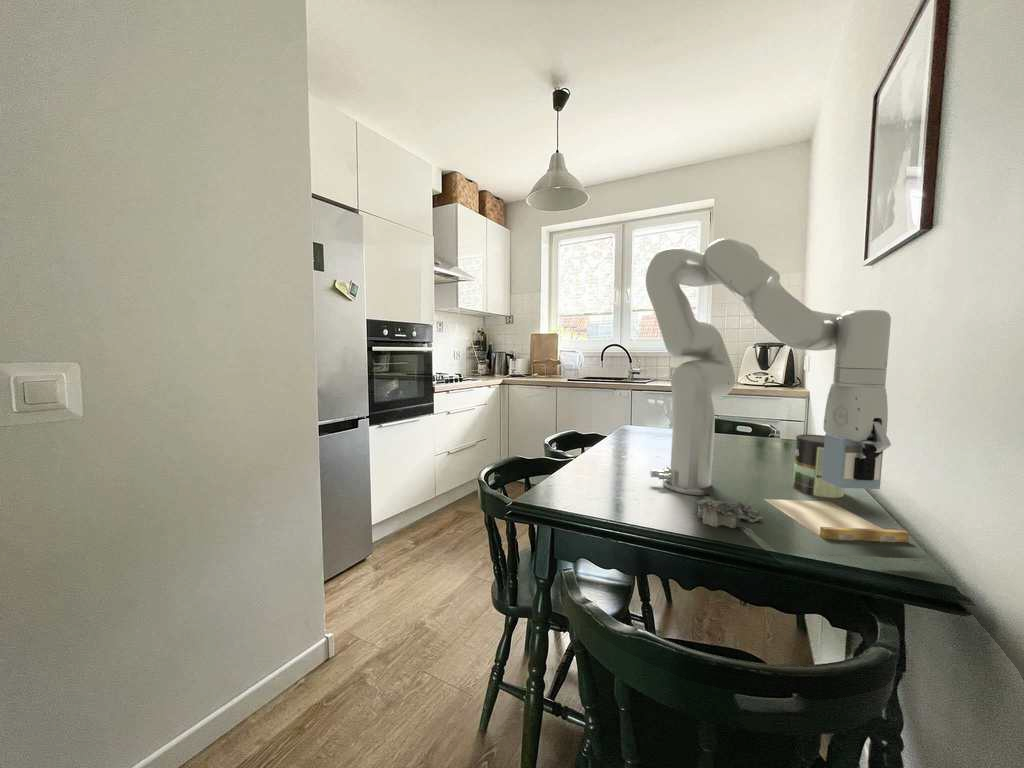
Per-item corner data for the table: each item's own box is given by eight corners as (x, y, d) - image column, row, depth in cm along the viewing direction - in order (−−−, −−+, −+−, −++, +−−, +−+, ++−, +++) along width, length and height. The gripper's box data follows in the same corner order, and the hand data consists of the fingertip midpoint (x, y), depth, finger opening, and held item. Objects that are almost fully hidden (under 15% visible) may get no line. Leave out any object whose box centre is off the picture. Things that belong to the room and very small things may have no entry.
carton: (821, 479, 84) (825, 433, 83) (859, 480, 83) (862, 434, 83) (841, 488, 78) (845, 439, 78) (881, 489, 78) (885, 440, 77)
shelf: (823, 547, 76) (825, 529, 76) (762, 505, 96) (763, 491, 96) (908, 550, 75) (910, 533, 75) (829, 508, 95) (830, 494, 95)
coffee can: (786, 495, 103) (791, 437, 102) (797, 486, 111) (801, 432, 109) (839, 507, 96) (845, 445, 95) (847, 497, 103) (853, 439, 102)
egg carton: (703, 527, 84) (704, 507, 84) (695, 513, 92) (695, 494, 91) (762, 532, 82) (764, 512, 82) (749, 517, 89) (750, 498, 89)
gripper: (808, 375, 88) (802, 462, 89) (874, 381, 71) (865, 488, 72) (846, 376, 88) (839, 463, 89) (922, 382, 71) (912, 490, 72)
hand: (851, 474), depth 81 cm, fingers closed on carton, 5 cm apart
